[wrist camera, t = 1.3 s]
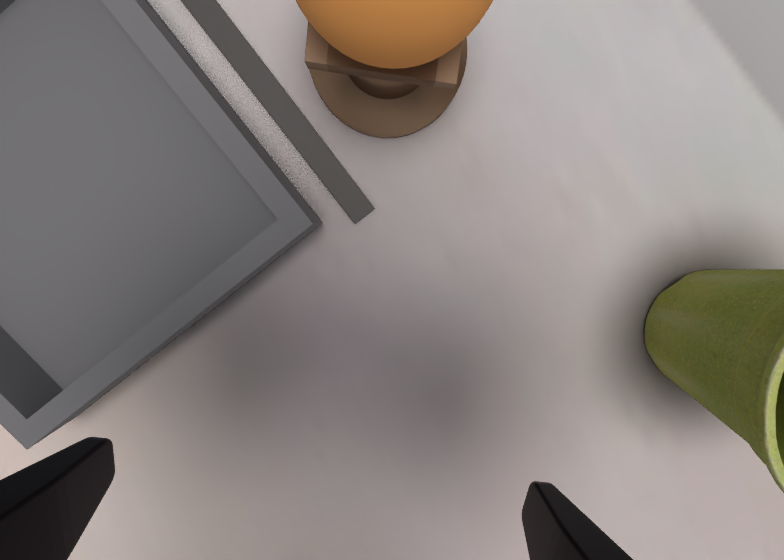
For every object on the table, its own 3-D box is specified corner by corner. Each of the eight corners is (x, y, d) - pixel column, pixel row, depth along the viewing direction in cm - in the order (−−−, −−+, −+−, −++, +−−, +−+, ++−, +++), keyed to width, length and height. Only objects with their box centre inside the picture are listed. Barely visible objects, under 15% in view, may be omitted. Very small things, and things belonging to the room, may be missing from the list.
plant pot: (595, 405, 22) (738, 529, 13) (627, 227, 20) (811, 236, 12) (762, 417, 22) (1005, 545, 14) (805, 244, 21) (1108, 265, 12)
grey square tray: (76, 416, 21) (26, 449, 18) (-179, 157, 18) (-286, 145, 15) (322, 222, 20) (313, 223, 17) (84, -79, 17) (23, -140, 14)
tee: (450, 147, 19) (481, 120, 14) (302, 126, 19) (270, 88, 13) (474, -13, 18) (517, -115, 13) (318, -39, 18) (290, -157, 12)
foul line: (355, 223, 20) (355, 224, 19) (154, -35, 18) (151, -38, 17) (374, 208, 20) (374, 208, 19) (175, -53, 18) (173, -56, 17)
